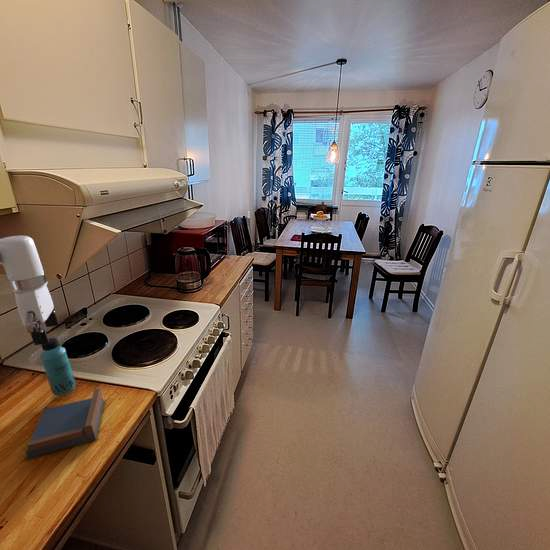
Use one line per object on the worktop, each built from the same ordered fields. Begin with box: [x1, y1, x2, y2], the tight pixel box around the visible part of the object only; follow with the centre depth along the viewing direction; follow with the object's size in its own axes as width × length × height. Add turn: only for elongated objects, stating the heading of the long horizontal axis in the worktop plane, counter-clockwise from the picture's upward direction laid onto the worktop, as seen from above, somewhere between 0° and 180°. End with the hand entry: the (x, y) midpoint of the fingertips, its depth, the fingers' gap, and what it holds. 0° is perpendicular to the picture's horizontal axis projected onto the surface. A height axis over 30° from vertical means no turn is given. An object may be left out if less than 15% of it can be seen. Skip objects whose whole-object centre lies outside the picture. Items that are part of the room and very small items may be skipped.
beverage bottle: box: [39, 337, 77, 397], centre depth 89 cm, size 6×7×20 cm
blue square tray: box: [24, 387, 105, 459], centre depth 80 cm, size 15×14×6 cm
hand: (47, 334), depth 84 cm, fingers open, 9 cm apart
